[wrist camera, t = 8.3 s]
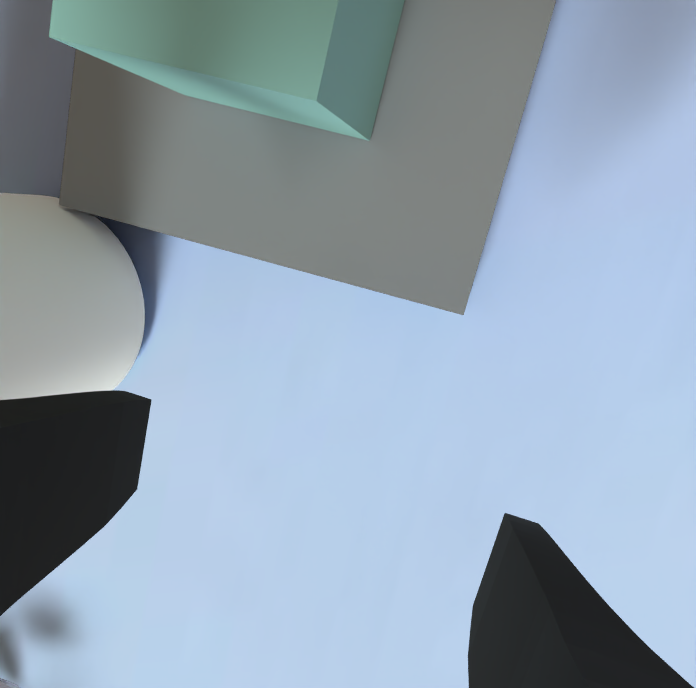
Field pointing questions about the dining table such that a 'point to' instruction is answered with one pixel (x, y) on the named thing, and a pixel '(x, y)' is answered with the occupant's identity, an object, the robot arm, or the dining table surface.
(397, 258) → the slate base
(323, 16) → the teal block
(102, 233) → the beverage can
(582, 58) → the dining table surface
